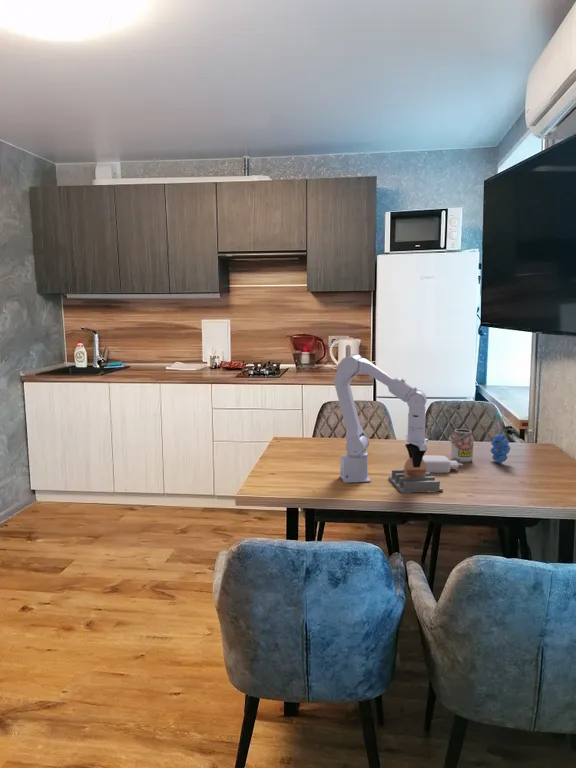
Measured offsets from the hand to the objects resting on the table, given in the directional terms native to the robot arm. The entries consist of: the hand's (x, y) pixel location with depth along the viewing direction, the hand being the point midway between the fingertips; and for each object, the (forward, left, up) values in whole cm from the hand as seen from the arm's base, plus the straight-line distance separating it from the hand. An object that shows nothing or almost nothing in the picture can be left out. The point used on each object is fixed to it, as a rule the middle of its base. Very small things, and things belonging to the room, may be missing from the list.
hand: (415, 465), depth 187 cm
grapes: (+42, +21, -7) cm, 47 cm away
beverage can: (+28, +27, -7) cm, 40 cm away
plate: (0, 0, -4) cm, 4 cm away
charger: (+16, +16, -7) cm, 24 cm away
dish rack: (0, 0, -7) cm, 7 cm away
